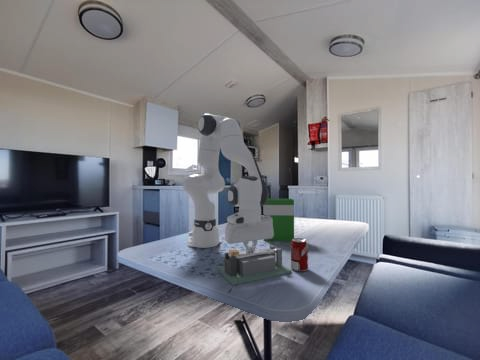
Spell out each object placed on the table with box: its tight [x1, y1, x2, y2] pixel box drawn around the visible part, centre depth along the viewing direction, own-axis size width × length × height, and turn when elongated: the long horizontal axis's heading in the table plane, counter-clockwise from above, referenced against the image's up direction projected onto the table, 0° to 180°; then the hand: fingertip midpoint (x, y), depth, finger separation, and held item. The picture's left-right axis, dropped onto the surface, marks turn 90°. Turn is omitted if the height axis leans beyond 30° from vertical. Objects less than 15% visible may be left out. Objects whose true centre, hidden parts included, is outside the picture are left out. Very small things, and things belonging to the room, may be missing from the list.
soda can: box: [290, 237, 309, 273], centre depth 97 cm, size 7×7×12 cm
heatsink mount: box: [216, 245, 293, 286], centre depth 96 cm, size 16×25×8 cm, turn 115°
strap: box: [227, 247, 277, 257], centre depth 96 cm, size 3×22×2 cm, turn 115°
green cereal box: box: [262, 198, 295, 242], centre depth 143 cm, size 18×7×24 cm, turn 83°
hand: (250, 251), depth 95 cm, fingers closed
